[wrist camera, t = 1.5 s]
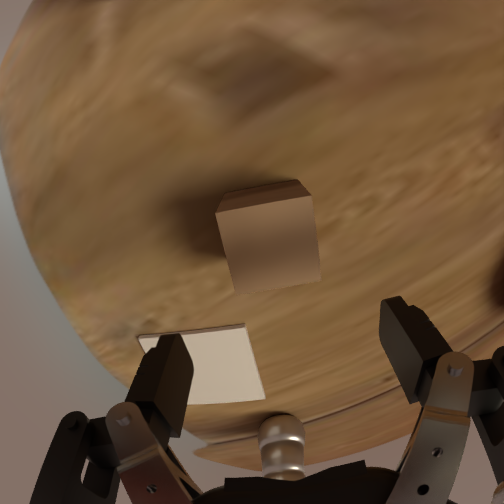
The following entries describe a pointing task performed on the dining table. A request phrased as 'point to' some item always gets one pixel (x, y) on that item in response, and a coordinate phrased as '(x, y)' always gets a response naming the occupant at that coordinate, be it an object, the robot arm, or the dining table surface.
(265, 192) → the cube
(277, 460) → the plastic bottle
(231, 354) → the plate
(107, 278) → the dining table surface
